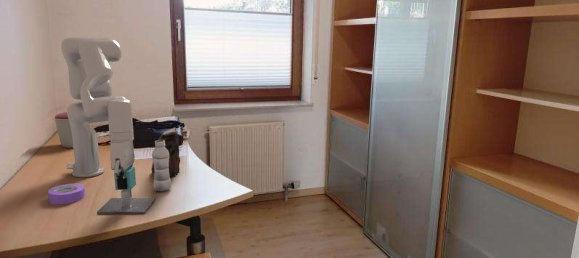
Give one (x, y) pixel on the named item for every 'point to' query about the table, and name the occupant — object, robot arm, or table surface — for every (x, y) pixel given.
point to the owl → (171, 151)
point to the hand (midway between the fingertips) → (125, 185)
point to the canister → (64, 129)
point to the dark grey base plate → (126, 204)
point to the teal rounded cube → (128, 178)
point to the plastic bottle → (161, 166)
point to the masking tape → (66, 193)
